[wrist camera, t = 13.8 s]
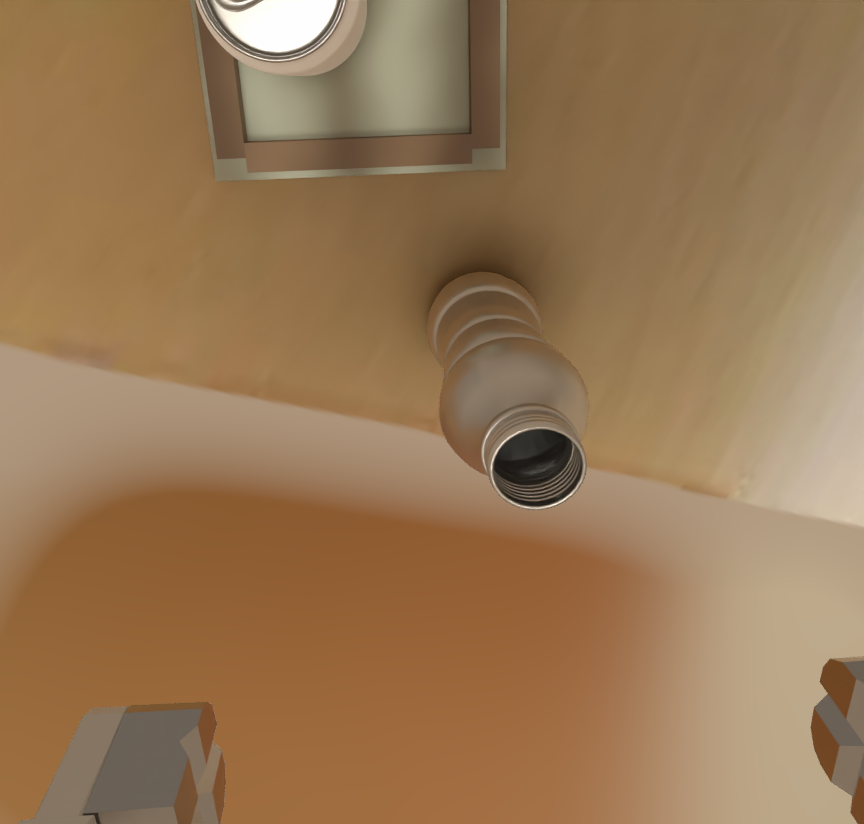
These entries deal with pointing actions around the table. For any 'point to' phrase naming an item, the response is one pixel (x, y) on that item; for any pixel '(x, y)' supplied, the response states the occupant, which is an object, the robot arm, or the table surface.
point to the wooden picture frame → (368, 99)
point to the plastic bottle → (508, 391)
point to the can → (287, 32)
